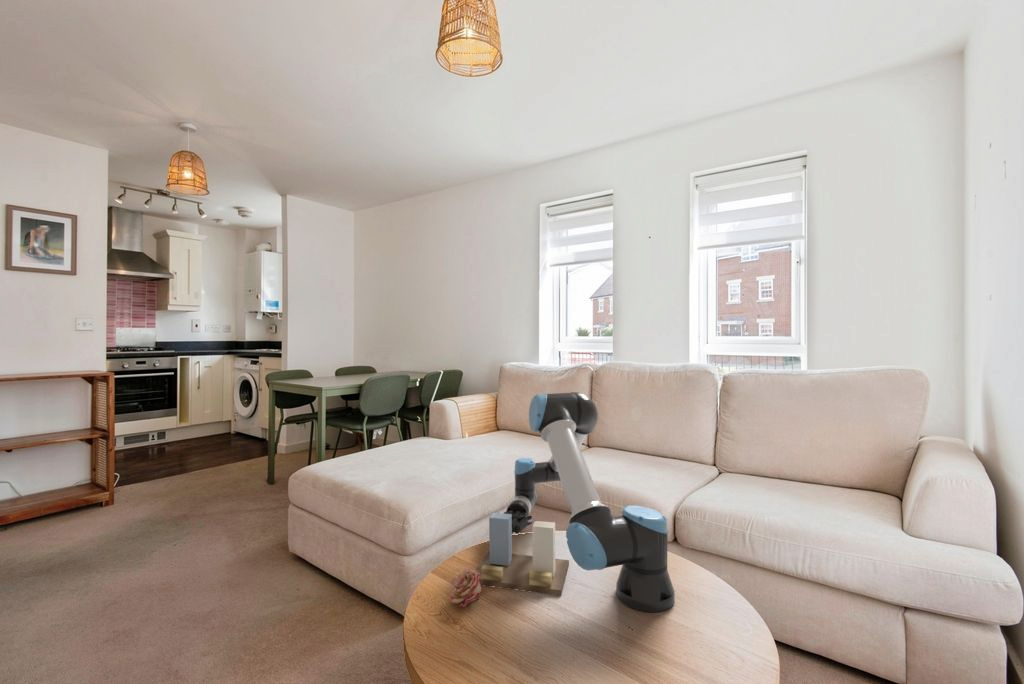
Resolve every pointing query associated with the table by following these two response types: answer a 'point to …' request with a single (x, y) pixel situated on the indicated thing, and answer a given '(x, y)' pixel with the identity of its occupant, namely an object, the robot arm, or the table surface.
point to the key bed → (523, 575)
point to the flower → (466, 587)
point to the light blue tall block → (500, 539)
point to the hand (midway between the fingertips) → (501, 538)
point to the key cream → (544, 547)
